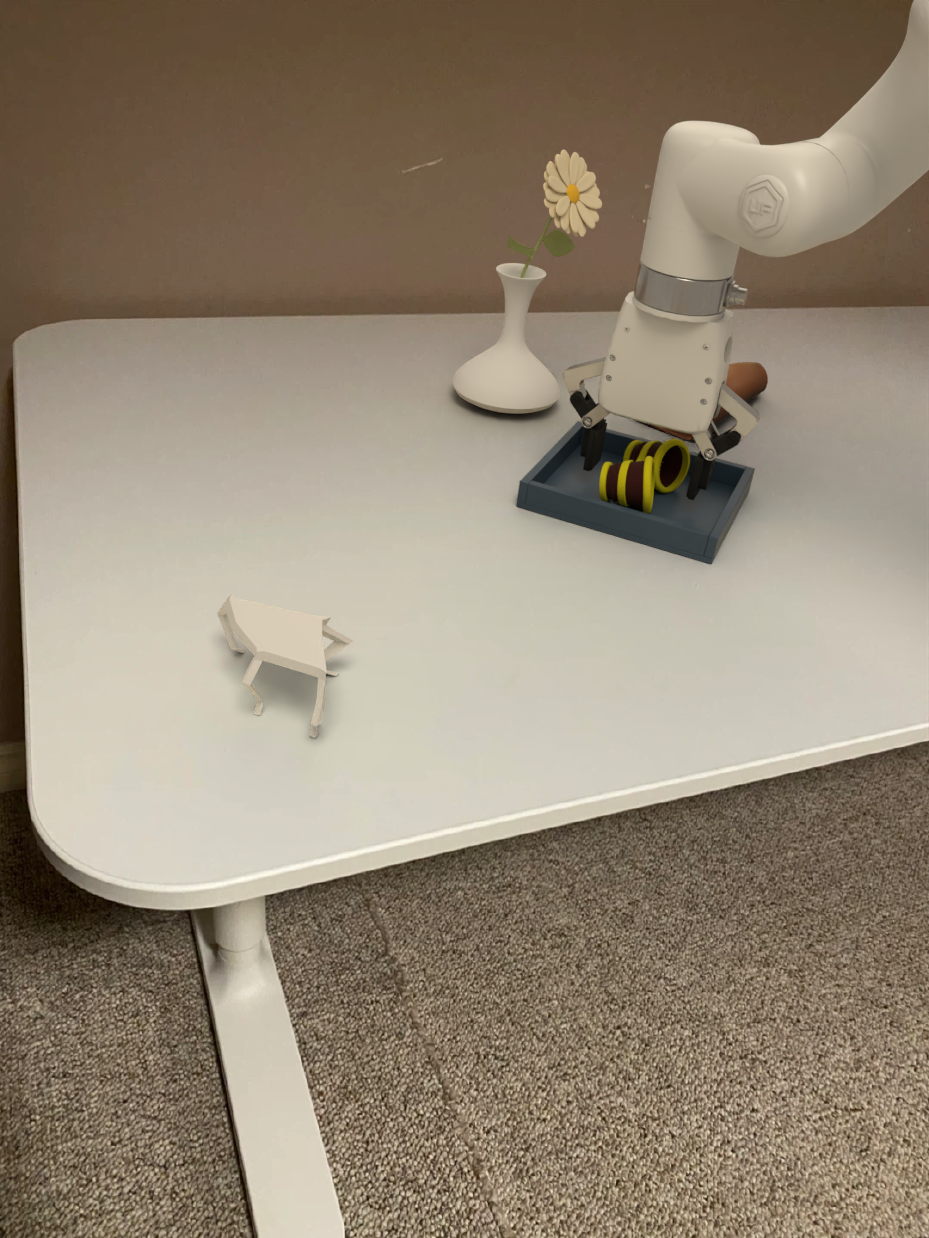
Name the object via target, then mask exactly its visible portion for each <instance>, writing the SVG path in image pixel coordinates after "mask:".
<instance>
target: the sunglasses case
mask: <svg viewBox="0 0 929 1238" xmlns="http://www.w3.org/2000/svg"><path fill="white" fill-rule="evenodd" d="M768 383H769V377H768V372H767V370H766V368H765V367H764V366H763V365H762V364H761V363H760V362H756V361H755V362H754V361H753V362H752V361H743V362H733V363H729V369H728V374H727V380H726V385H727V386H728V387H729V388H730V389H731V390H732V391H734V392H735V393H736V394H737V395H738V396H739V397H741V398H742V399H743V400H744V401H745V402H746V403H748V402H750V401H751V400H752V399H754V398H755V397H757V396H759V395H760V394H762V393H764V392H765V391H766V389H767V386H768ZM728 416H730V414H729V413H728V412H727V411H726V410H725V409H724V408H722V407H720V410H719V413H718V415H717V417H716V418H713V419H712V420H713V422H714V424H715V426H716V427H717V425H719V424H720V423H721V422H722V421H724V420H725V419H726V418H728ZM645 424H646V425H648V426H650V427H652V428H653V429H655V430H658V431H659V432H663V433H665V434H668V435H670V436H673V437H676V438H677V439H680V440H684V441H687V442H692V441H695V440H694V438H693V436H692V434H688V433H683V432H679V431H675V430H671V429H667V428H663V427H659V426H655V425H651V424H647V423H645Z"/></svg>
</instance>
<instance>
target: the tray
mask: <svg viewBox="0 0 929 1238" xmlns="http://www.w3.org/2000/svg"><path fill="white" fill-rule="evenodd" d="M584 430H585V427H583V426H582V424H581V420H580V421H579V420H577V421H576V422H575V423H574V424H573V425H572V426H571V428H570V429H568V430H567V431H566V432H565V434H564V435H563V436H562V437H561V438H560V439H559V440H558V441H557V442H556V443H555V444H554V445H553V446H552V447H551V448H550V449H549V450H548V451H547V452H546V453H545V454H544V455H543V456H542V457H541V459H540V460H539V461H538V462H537V463H535V464H534V466H533V467H532V468H531V469H530V470H529V471H528V472H527V473H526V474H525V475H524V476H523V477H522V478H521V479H520V480H519V483H518V491H517V498H516V505H515V507H517V508H521V509H524V510H527V511H530V512H533V513H537V514H541V515H543V516H547V517H549V518H550V517H551V518H554V519H558V520H561V521H563V522H568V523H571V524H575V525H578V526H581V527H584V528H588V529H591V530H595V531H598V532H601V533H605V534H607V535H612V536H615V537H618V538H621V539H625V540H628V541H631V542H635V543H639V544H642V545H645V546H649V547H652V548H656V549H658V550H662V551H664V552H665V551H666V552H669V553H672V554H675V555H679V556H682V557H686V558H688V559H689V558H690V559H693V560H695V561H699V562H702V563H706V564H710V565H712V564H713V562H714V560H715V558H716V556H717V554H718V552H719V550H720V548H721V547H722V545H723V543H724V541H725V539H726V537H727V535H728V533H729V532H730V530H731V527H732V525H733V523H734V522H735V519H736V517H737V516H738V514H739V512H740V510H741V508H742V506H743V503H744V502H745V500H746V498H747V496H748V494H749V492H750V489H751V485H752V482H753V478H754V475H755V472H756V469H755V467H751V466H747V465H744V464H740V463H737V462H733V461H729V460H727V459H726V460H725V459H721V458H718V457H716V458H715V462H714V466H713V470H712V474H711V478H710V482H709V485H708V487H707V489H706V490H703V489H700V491H699V492H698V494H697V496H696V497H695V499H694V500H690V499H688V497H686V494H687V490H688V486H689V481H690V477H691V473H692V469H693V465H694V461H695V458H696V456H697V455H698V453H699V452H695V451H691V450H689V453H690V465H689V469H688V472H687V475H686V477H685V479H684V480H683V482H682V483H681V484H680V486H679V487H678V488H677V489H675V490H674V491H672V492H669V493H661V492H659V491H658V490H656V489H655V487H654V496H653V504H652V510H651V512H650V513H649V514H647V513H644V512H643V509H642V508H639V507H635V506H632V505H630V506H628V507H627V506H623V505H621V504H620V503H619V502H618V501H617V502H613V501H612V500H611V499H610V500H609V501H602V500H601V498H600V493H599V482H600V475H601V470H602V467H603V464H604V463H605V462H611V463H612V464H613V465H615V464H616V463H617V462H619V463H620V464H622V463H623V457H624V454H625V451H626V449H627V447H628V445H629V444H630V443H631V442H632V441H634V440H640V441H642V442H650V441H652V440H650V439H646V438H643V437H639V436H636V435H632V434H628V433H625V432H620V431H617V430H613V429H610V428H606V434H605V439H604V444H603V450H602V455H601V459H600V461H599V462H598V463H597V465H596V466H595V467H594V468H593V469H592V471H591V470H590V471H586V470H583V467H584V461H585V457H583V456H581V455H580V453H581V447H582V441H583V435H584Z"/></svg>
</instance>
